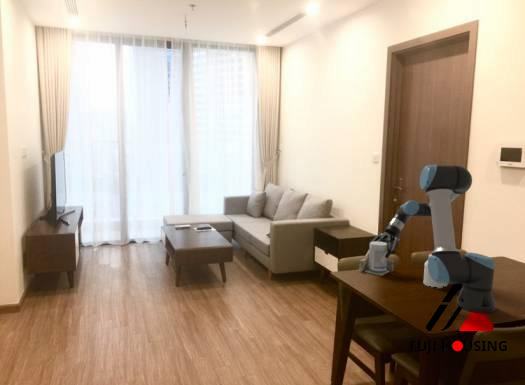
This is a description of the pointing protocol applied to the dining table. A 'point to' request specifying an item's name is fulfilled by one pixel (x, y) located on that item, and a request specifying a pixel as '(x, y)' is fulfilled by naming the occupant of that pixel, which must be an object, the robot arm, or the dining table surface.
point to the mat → (377, 272)
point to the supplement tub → (377, 256)
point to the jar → (428, 279)
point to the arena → (365, 264)
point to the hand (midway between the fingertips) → (374, 259)
